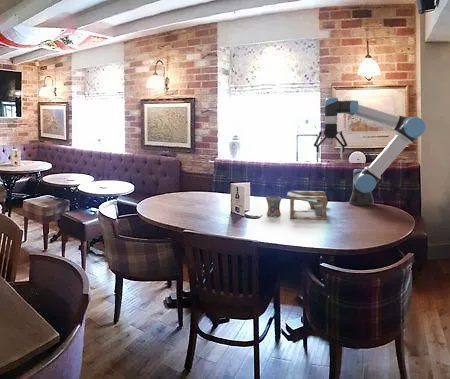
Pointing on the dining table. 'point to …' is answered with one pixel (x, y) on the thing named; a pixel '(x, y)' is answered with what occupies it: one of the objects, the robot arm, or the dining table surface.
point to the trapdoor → (300, 199)
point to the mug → (273, 206)
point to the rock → (317, 200)
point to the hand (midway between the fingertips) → (330, 157)
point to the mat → (305, 214)
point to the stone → (318, 210)
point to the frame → (322, 198)
